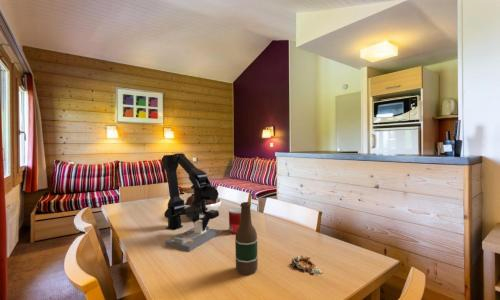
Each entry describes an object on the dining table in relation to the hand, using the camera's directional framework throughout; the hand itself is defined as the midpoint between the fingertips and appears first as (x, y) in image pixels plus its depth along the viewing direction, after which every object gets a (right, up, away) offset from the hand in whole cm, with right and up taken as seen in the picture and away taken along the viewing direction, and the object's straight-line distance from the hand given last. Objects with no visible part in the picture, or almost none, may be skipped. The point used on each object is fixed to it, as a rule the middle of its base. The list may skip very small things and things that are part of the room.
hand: (200, 229), depth 123 cm
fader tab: (0, -1, 0) cm, 1 cm away
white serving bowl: (-6, -2, +34) cm, 34 cm away
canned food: (+18, -3, +6) cm, 19 cm away
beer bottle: (+23, -4, -33) cm, 41 cm away
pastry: (+45, -4, -32) cm, 55 cm away
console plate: (-2, -3, -4) cm, 6 cm away
